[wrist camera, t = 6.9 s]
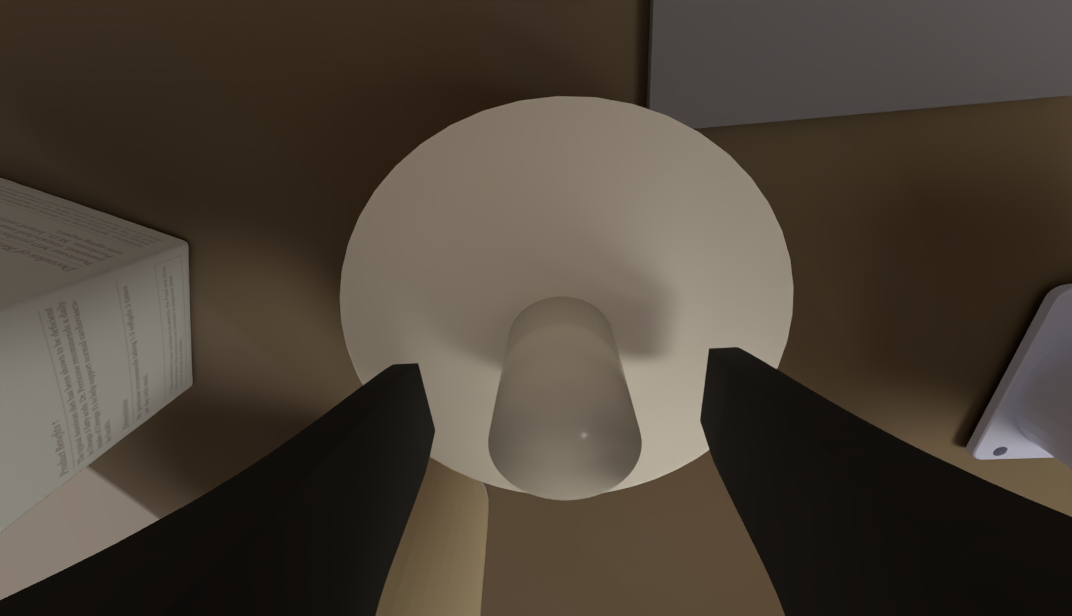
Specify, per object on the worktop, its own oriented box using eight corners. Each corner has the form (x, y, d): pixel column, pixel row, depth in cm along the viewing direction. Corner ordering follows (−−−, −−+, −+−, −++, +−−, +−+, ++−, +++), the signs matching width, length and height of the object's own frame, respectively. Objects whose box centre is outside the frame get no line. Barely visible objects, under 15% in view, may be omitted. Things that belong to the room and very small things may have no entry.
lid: (838, 83, 8) (1082, 61, 4) (736, 481, 13) (808, 626, 10) (293, 109, 9) (99, 108, 5) (396, 479, 14) (338, 616, 10)
